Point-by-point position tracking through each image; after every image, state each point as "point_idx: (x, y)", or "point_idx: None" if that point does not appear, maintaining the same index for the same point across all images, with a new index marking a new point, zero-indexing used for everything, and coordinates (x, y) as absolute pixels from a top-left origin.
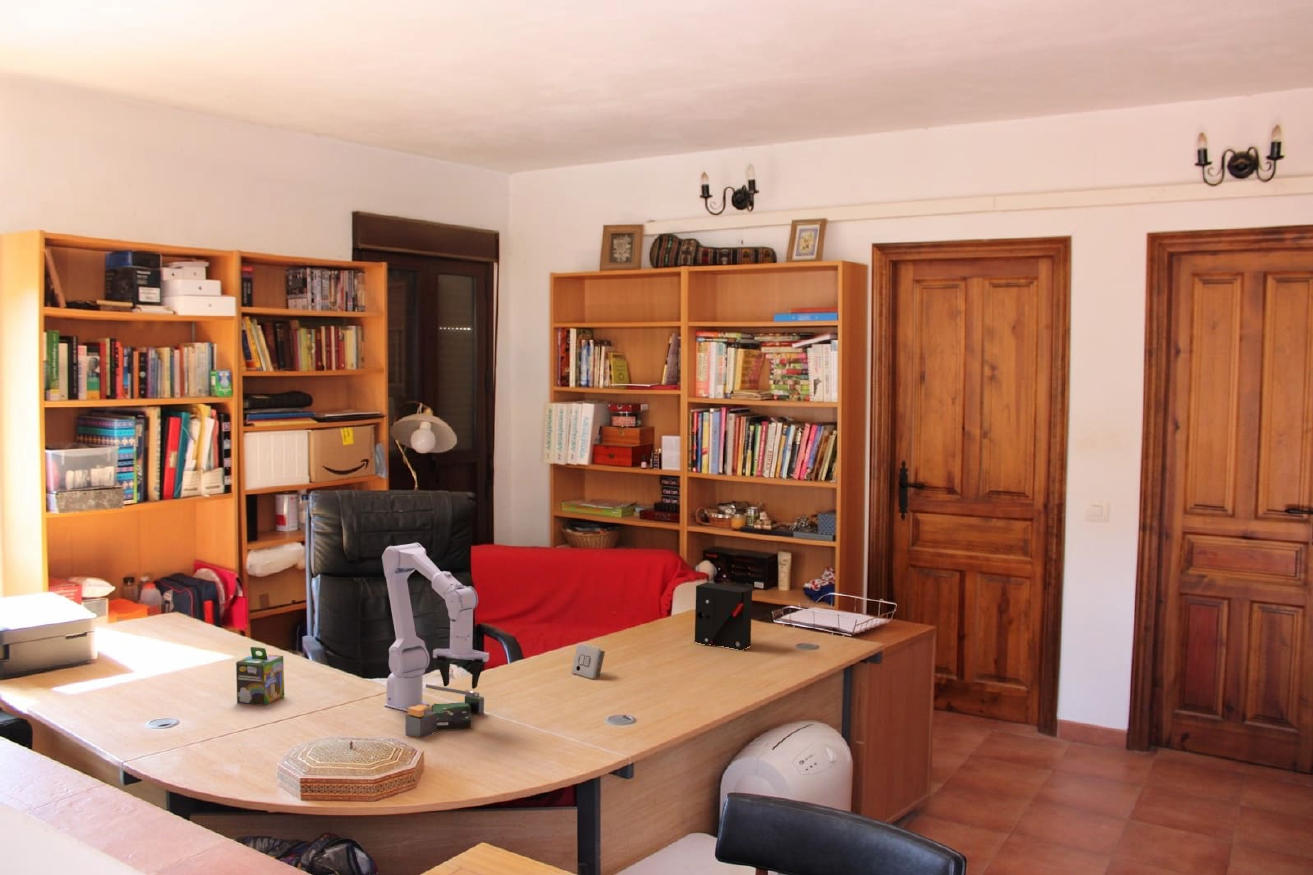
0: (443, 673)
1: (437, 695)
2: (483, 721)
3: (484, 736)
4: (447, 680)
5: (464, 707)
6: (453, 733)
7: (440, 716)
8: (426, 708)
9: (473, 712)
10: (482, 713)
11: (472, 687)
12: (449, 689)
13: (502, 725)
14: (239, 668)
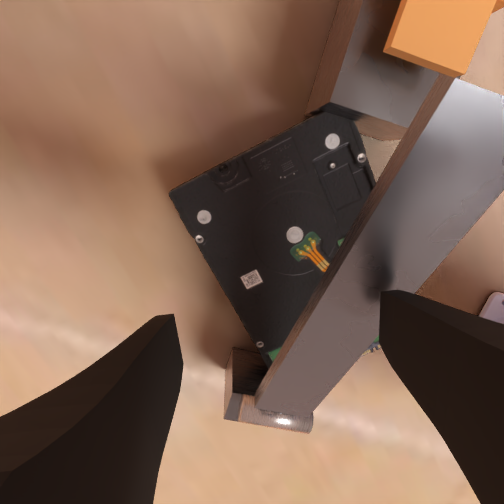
0: (476, 328)
1: (445, 459)
2: (184, 299)
3: (82, 134)
4: (399, 336)
5: (277, 331)
6: (229, 125)
7: (334, 201)
8: (397, 18)
9: (258, 356)
10: (227, 365)
11: (166, 316)
12: (339, 264)
13: (91, 283)
14: None
